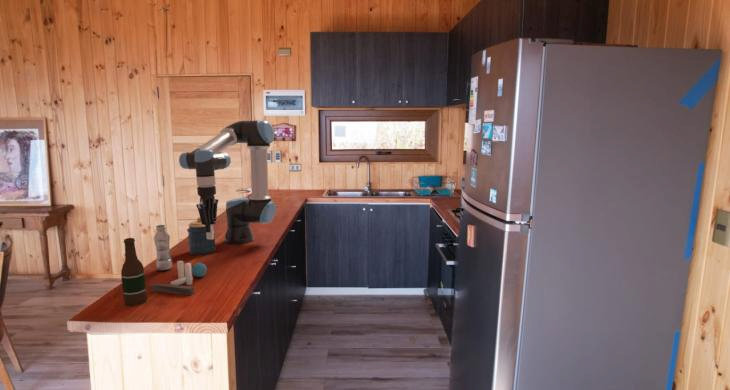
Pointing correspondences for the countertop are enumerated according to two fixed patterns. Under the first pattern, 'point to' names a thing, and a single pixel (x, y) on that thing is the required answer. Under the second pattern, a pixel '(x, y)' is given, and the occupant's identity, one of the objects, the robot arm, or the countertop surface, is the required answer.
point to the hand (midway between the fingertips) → (210, 238)
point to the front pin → (179, 281)
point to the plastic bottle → (162, 248)
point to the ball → (199, 269)
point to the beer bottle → (133, 276)
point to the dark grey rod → (172, 289)
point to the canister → (199, 239)
